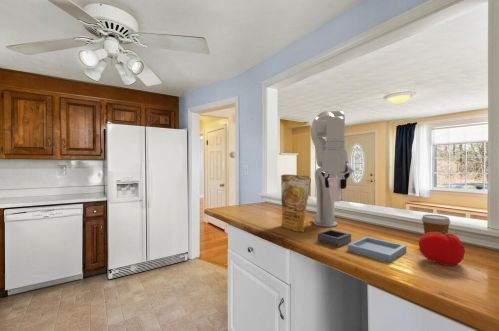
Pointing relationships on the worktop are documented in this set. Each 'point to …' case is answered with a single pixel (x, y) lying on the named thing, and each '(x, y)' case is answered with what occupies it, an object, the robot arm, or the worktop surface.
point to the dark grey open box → (334, 238)
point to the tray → (377, 248)
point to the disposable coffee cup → (435, 223)
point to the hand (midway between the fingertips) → (335, 187)
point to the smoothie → (335, 188)
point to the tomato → (442, 248)
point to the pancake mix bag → (294, 201)
